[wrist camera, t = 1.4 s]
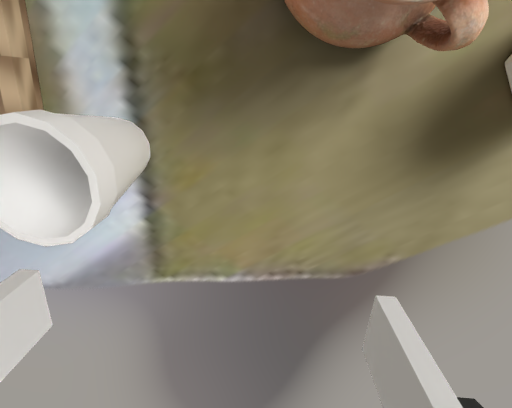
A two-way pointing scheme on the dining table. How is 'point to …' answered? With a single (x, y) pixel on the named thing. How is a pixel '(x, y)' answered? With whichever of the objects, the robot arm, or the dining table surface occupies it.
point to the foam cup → (64, 172)
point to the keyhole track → (17, 61)
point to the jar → (509, 70)
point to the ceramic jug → (391, 21)
